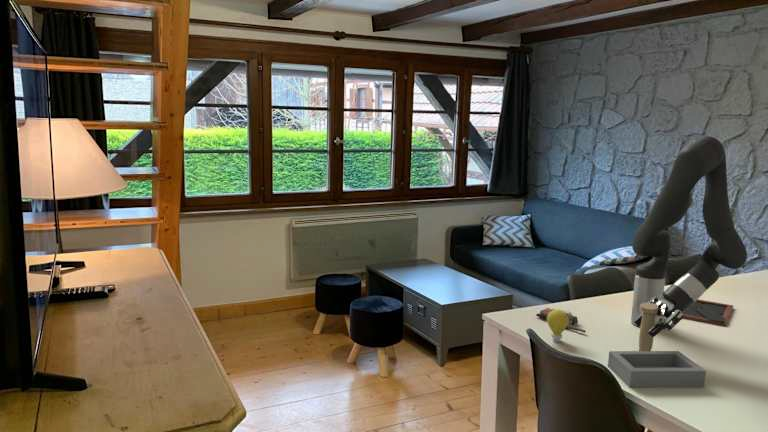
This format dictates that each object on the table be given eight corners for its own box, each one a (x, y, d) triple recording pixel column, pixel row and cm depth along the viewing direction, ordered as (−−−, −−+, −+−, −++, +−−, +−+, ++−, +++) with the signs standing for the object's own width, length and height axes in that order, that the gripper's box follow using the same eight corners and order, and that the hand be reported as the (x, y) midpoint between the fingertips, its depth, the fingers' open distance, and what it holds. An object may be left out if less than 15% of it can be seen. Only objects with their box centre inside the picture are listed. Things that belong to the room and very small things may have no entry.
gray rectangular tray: (676, 365, 160) (678, 351, 160) (704, 387, 147) (706, 370, 147) (607, 366, 159) (609, 351, 159) (629, 387, 147) (630, 371, 146)
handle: (655, 352, 170) (659, 304, 167) (651, 359, 164) (656, 310, 162) (638, 348, 172) (642, 301, 170) (633, 355, 167) (638, 307, 165)
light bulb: (542, 336, 181) (544, 306, 180) (562, 336, 182) (564, 306, 180) (550, 344, 175) (552, 313, 173) (571, 344, 175) (573, 313, 174)
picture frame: (724, 328, 193) (732, 309, 213) (725, 322, 192) (733, 304, 212) (661, 316, 205) (674, 299, 224) (661, 310, 204) (674, 294, 224)
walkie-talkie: (532, 319, 198) (583, 336, 183) (532, 307, 197) (584, 323, 182) (546, 314, 204) (597, 330, 188) (547, 302, 203) (598, 318, 188)
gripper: (663, 277, 172) (623, 313, 174) (690, 290, 158) (646, 329, 160) (678, 293, 173) (639, 329, 175) (706, 308, 159) (663, 347, 161)
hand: (642, 329), depth 167 cm, fingers open, 8 cm apart
